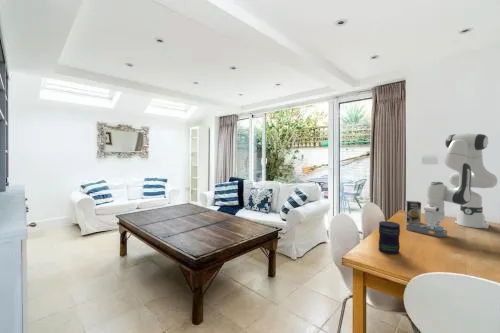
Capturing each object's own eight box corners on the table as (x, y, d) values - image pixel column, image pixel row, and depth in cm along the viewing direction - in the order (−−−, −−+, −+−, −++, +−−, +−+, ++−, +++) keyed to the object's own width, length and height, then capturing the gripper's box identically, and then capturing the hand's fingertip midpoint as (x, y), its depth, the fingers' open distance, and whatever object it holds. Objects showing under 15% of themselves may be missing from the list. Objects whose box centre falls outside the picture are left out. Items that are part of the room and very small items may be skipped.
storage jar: (399, 256, 124) (400, 227, 123) (377, 252, 129) (378, 224, 128) (399, 250, 132) (400, 222, 131) (379, 246, 137) (379, 220, 137)
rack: (412, 227, 173) (412, 222, 172) (447, 235, 155) (447, 229, 155) (406, 229, 168) (406, 224, 168) (441, 238, 151) (441, 231, 151)
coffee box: (406, 222, 186) (407, 201, 185) (404, 220, 192) (405, 200, 191) (420, 223, 182) (421, 202, 181) (418, 221, 188) (419, 201, 187)
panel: (429, 228, 162) (429, 224, 162) (443, 231, 156) (443, 226, 156) (426, 229, 159) (426, 225, 159) (440, 232, 153) (440, 227, 153)
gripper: (436, 204, 165) (436, 224, 166) (422, 208, 154) (422, 229, 155) (447, 206, 160) (447, 226, 160) (434, 209, 149) (433, 232, 149)
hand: (434, 228), depth 157 cm, fingers closed on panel, 5 cm apart
